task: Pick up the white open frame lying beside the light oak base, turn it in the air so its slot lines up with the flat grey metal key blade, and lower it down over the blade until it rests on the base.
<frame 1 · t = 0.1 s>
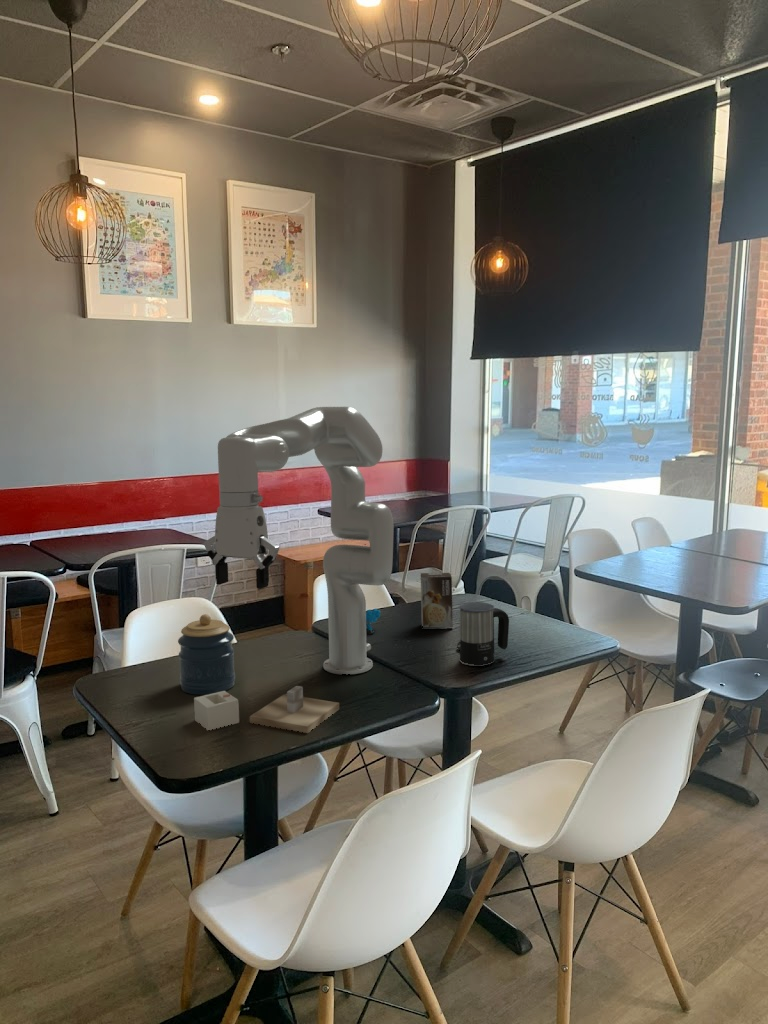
hand: (242, 585, 158), 31 cm above the table, tool pointing down, fingers open, 9 cm apart
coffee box: (436, 627, 238), on the table
blue green toy: (364, 633, 234), on the table
canister: (208, 686, 190), on the table
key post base: (295, 716, 171), on the table
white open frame: (217, 721, 169), on the table
milk frother: (473, 657, 210), on the table
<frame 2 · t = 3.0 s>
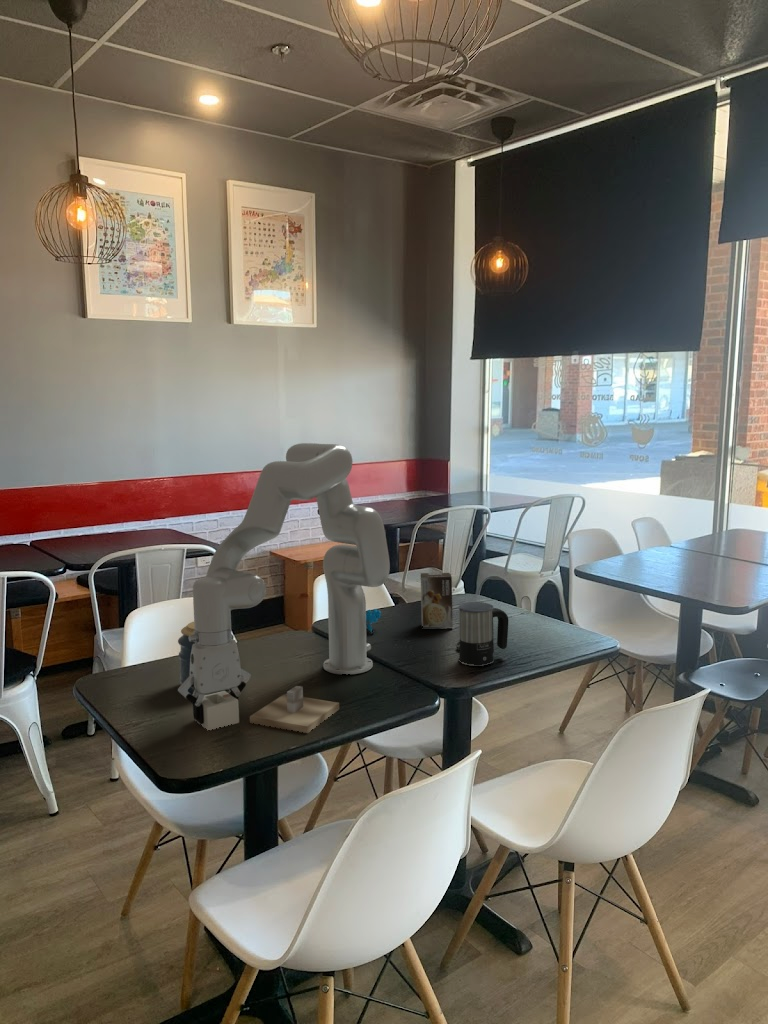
hand: (216, 716, 169), 1 cm above the table, tool pointing down, fingers closed on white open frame, 7 cm apart
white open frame: (216, 721, 169), on the table, touching gripper
everything else where it was.
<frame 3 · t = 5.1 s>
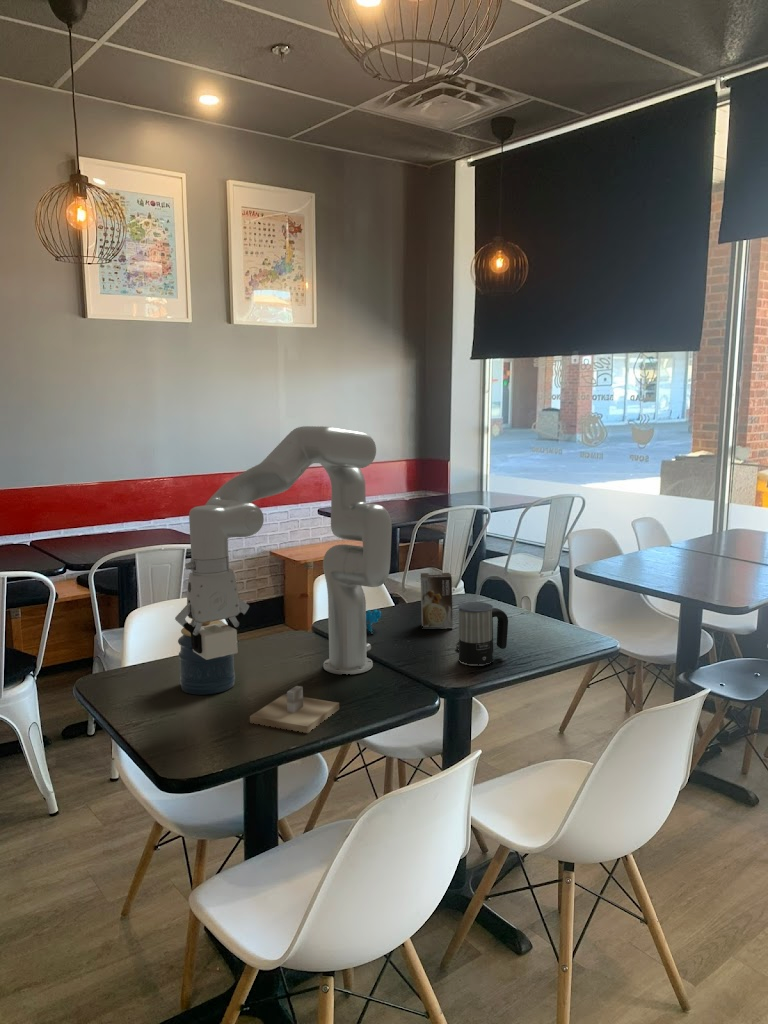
hand: (215, 647, 167), 16 cm above the table, tool pointing down, fingers closed on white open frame, 7 cm apart
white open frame: (215, 652, 167), point 15 cm above the table, touching gripper
everything else where it was.
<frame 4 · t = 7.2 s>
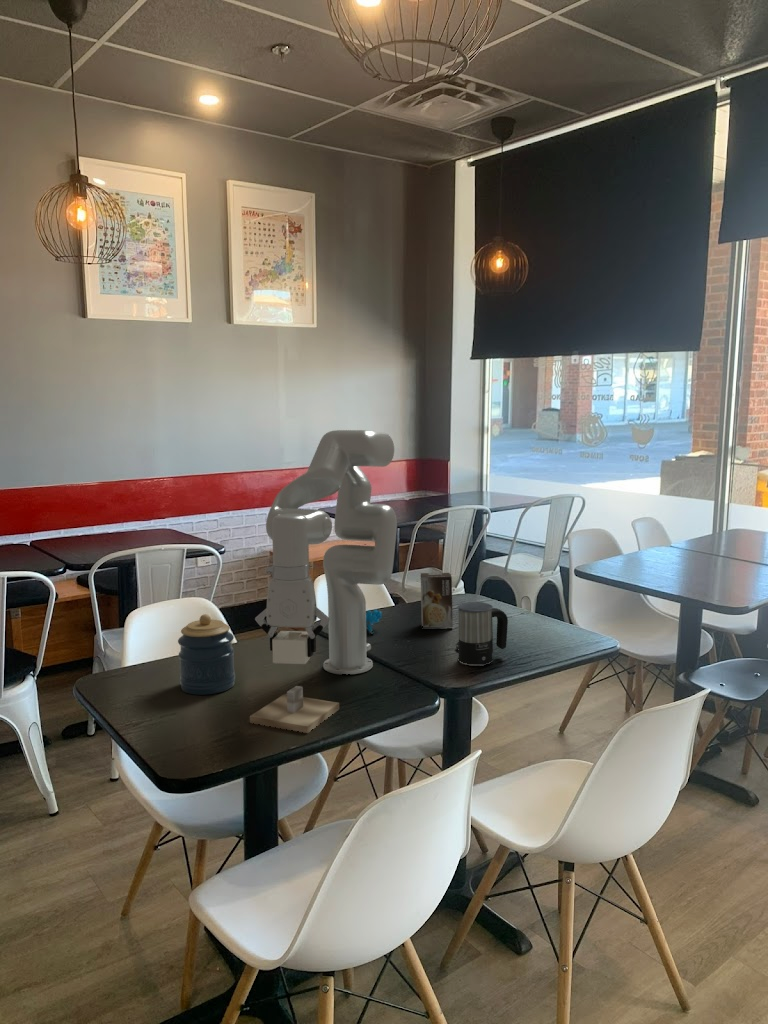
hand: (293, 653, 169), 14 cm above the table, tool pointing down, fingers closed on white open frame, 7 cm apart
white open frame: (293, 658, 169), point 13 cm above the table, touching gripper
everything else where it was.
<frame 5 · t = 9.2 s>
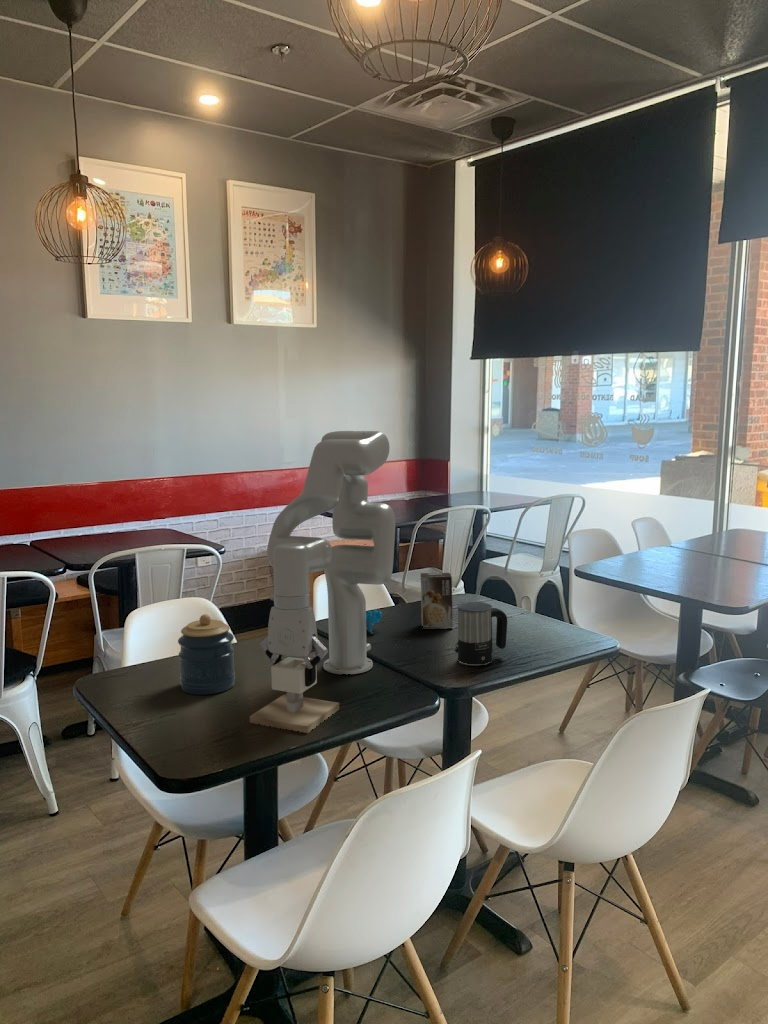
hand: (294, 681, 170), 8 cm above the table, tool pointing down, fingers closed on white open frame, 7 cm apart
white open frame: (294, 686, 170), point 7 cm above the table, touching gripper
everything else where it was.
when the fingers open (3 cm above the table, at t = 11.2 s): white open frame stays where it is, resting on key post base.
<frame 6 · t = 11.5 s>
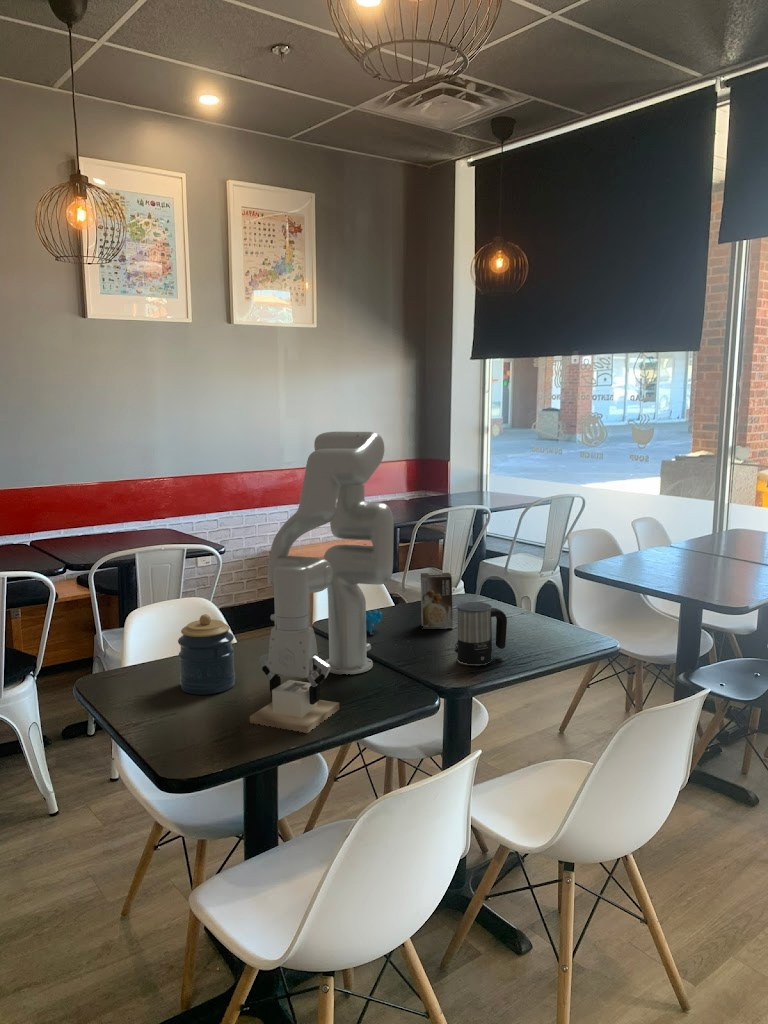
hand: (295, 699, 171), 4 cm above the table, tool pointing down, fingers open, 9 cm apart
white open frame: (295, 709, 171), point 1 cm above the table, touching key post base
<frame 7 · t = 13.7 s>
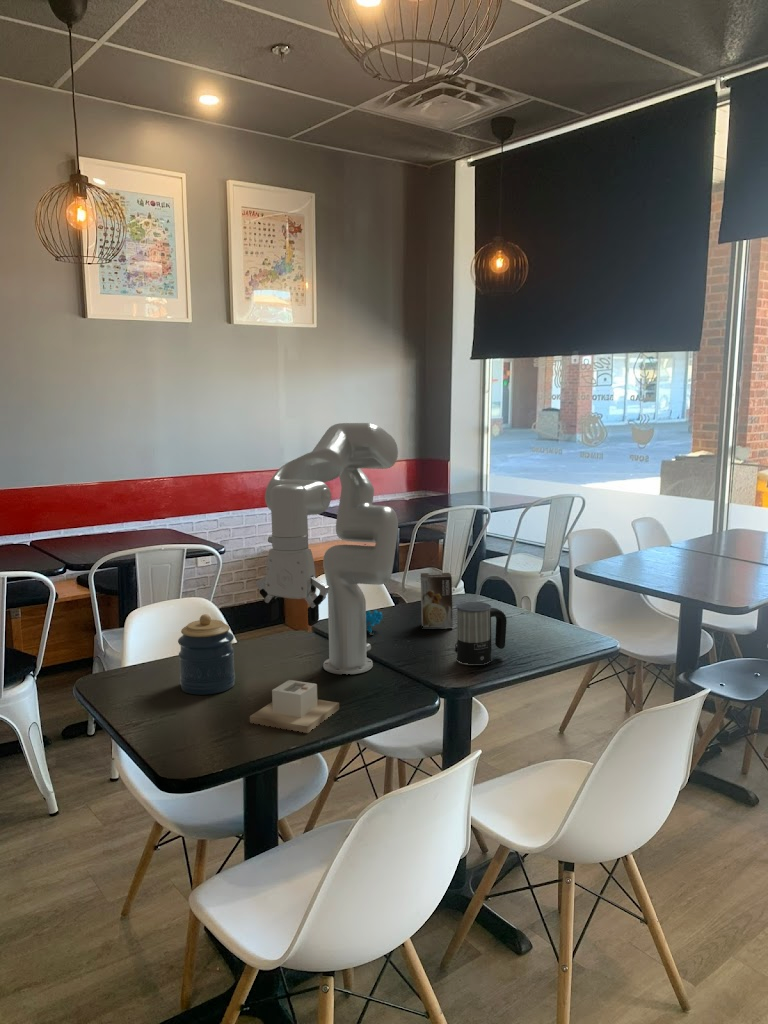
hand: (293, 621, 169), 21 cm above the table, tool pointing down, fingers open, 9 cm apart
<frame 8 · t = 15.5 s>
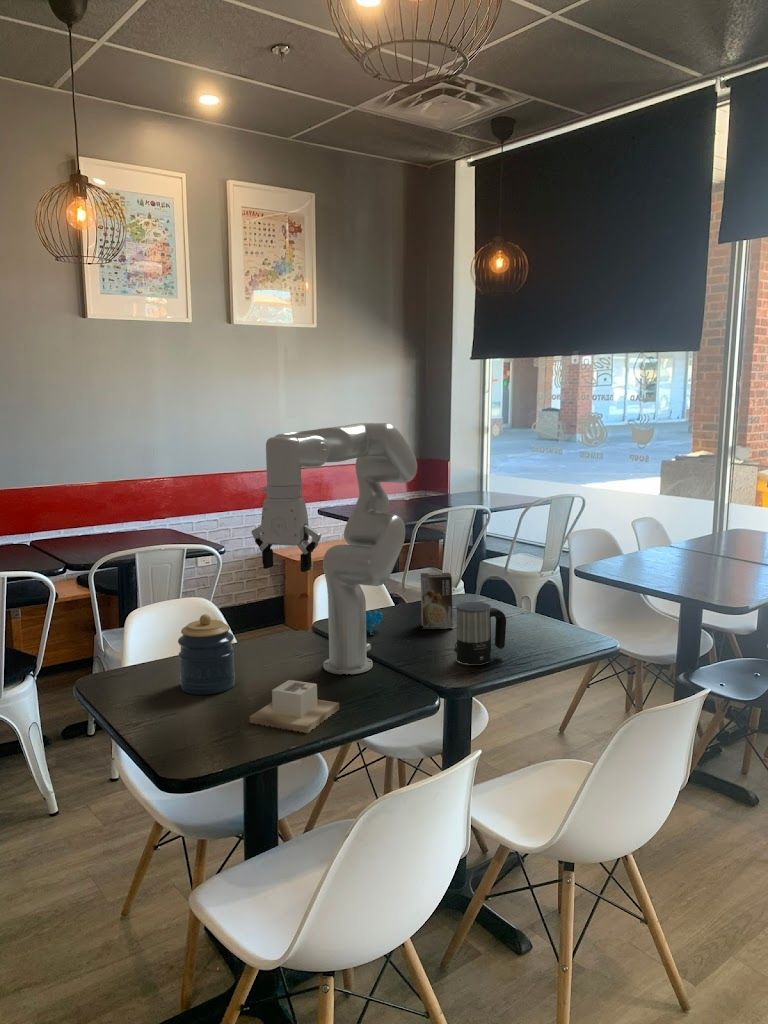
hand: (286, 569, 177), 30 cm above the table, tool pointing down, fingers open, 9 cm apart
at the end: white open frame 0.0 cm off-centre on the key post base, point 1.5 cm above the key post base's base; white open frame tilted 0°; the gripper is holding nothing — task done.
